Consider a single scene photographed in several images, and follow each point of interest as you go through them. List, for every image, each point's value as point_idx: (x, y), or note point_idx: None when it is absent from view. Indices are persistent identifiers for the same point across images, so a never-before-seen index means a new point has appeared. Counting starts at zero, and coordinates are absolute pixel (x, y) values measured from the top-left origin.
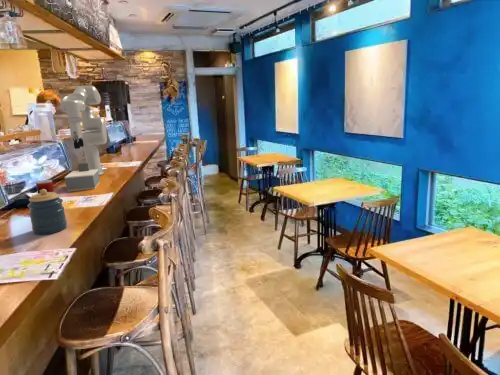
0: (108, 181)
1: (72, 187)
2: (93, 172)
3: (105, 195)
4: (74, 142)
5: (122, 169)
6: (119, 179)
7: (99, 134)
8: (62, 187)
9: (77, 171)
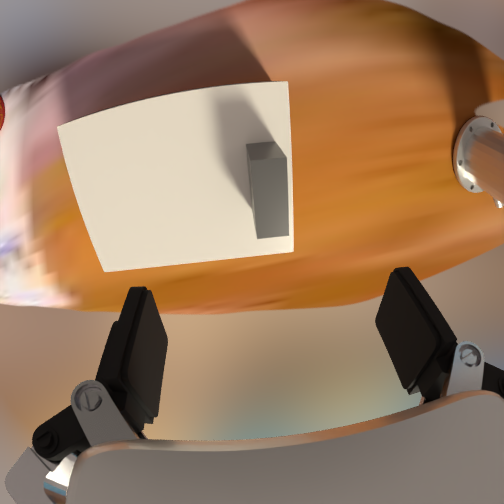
0: None
1: None
2: (168, 258)
3: (41, 290)
4: (111, 384)
5: (493, 244)
6: (304, 282)
7: None
8: (218, 34)
9: (260, 128)
